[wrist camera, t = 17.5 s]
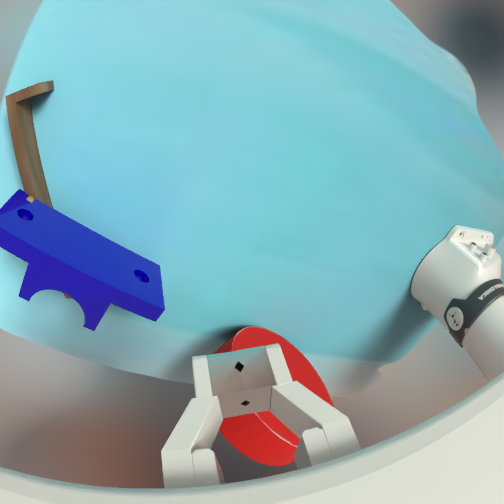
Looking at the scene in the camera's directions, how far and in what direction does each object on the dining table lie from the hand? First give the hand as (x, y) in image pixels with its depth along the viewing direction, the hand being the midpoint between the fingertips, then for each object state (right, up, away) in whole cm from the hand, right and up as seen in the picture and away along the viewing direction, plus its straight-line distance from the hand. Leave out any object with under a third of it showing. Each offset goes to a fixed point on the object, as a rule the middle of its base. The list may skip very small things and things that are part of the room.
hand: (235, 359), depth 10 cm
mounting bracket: (-15, +4, +15) cm, 21 cm away
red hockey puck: (+2, -10, +36) cm, 38 cm away
